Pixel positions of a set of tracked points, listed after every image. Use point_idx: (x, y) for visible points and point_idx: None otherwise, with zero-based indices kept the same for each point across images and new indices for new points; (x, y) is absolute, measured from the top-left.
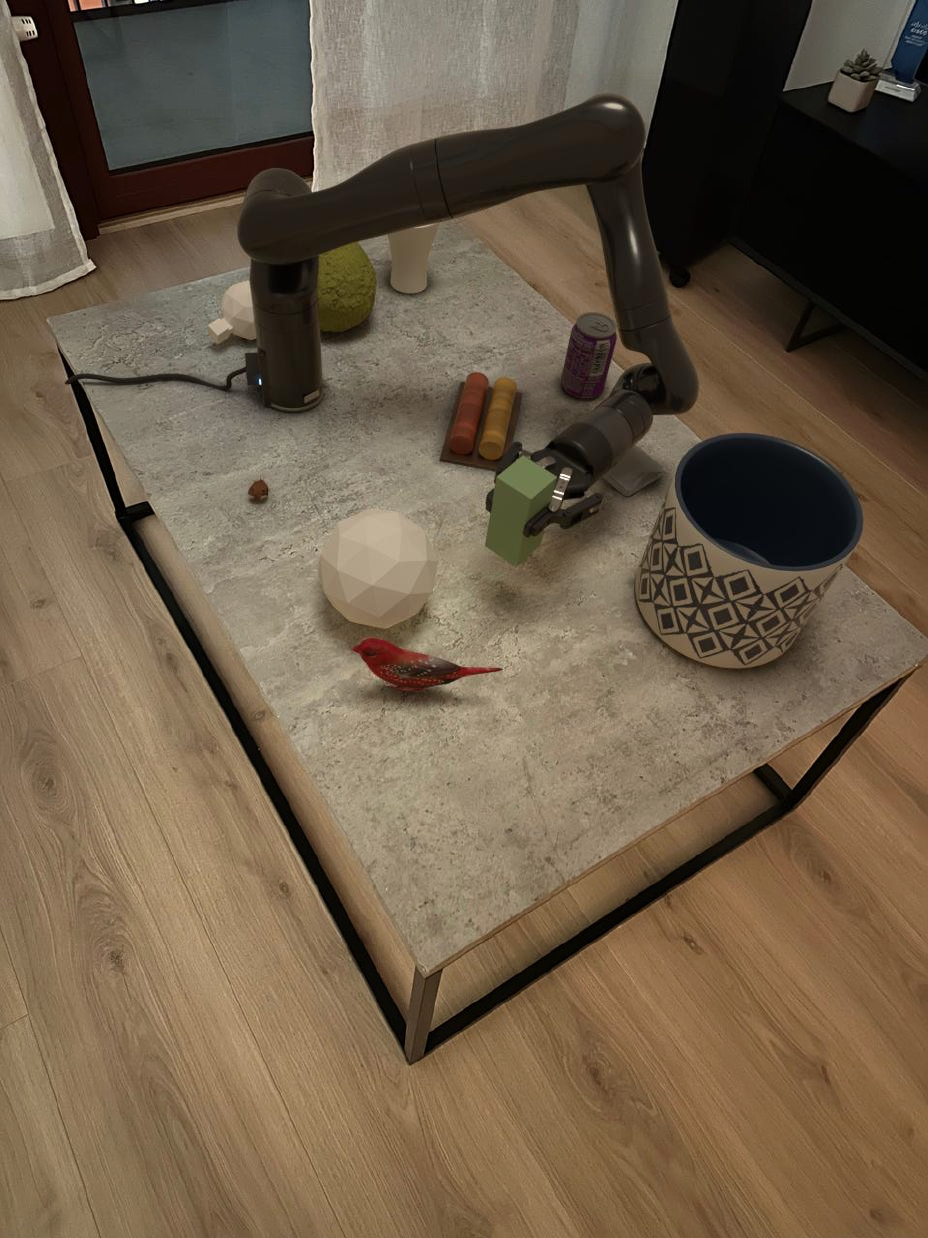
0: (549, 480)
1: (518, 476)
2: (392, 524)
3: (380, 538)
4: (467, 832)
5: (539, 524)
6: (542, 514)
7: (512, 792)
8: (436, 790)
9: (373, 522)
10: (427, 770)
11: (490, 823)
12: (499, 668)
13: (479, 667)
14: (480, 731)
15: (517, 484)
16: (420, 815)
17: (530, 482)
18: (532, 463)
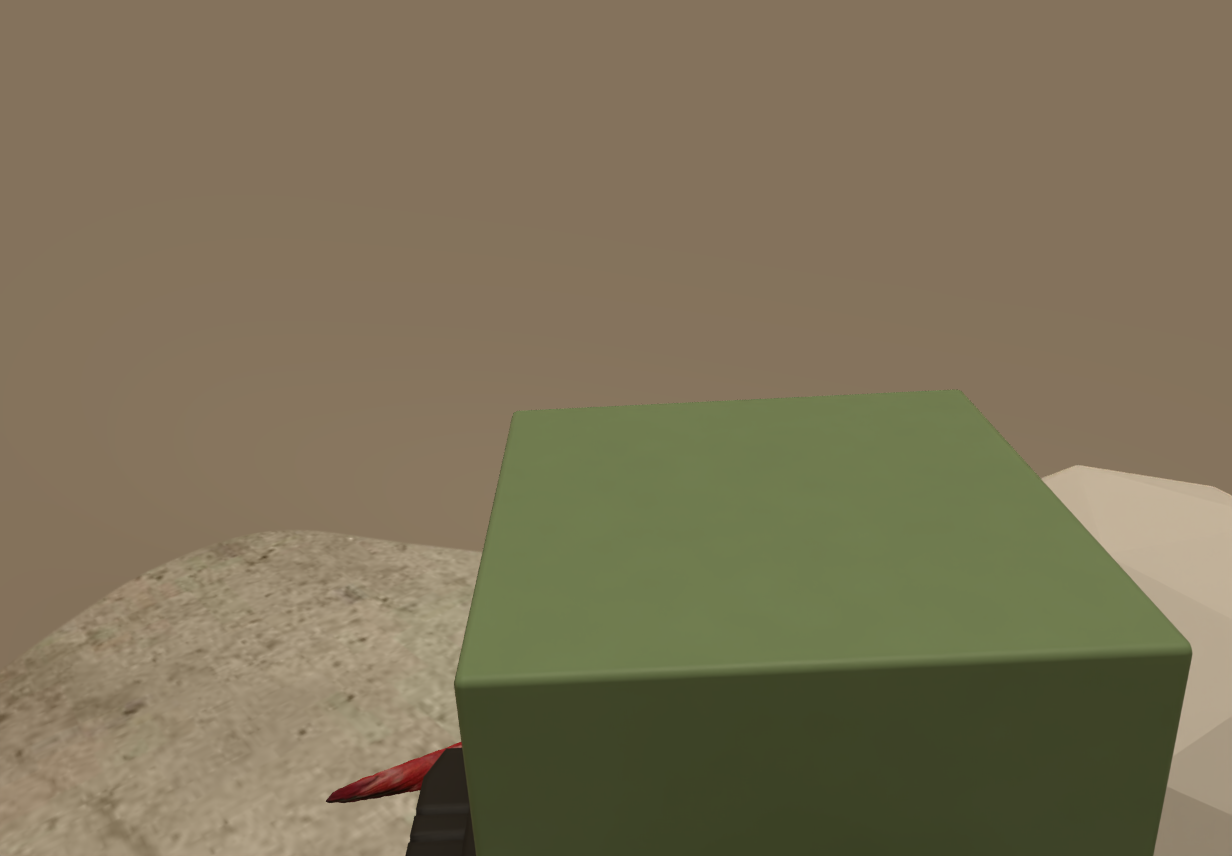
0: (507, 585)
1: (836, 466)
2: (1173, 556)
3: (1093, 497)
4: (241, 658)
5: (440, 794)
6: (471, 847)
7: (157, 774)
8: (369, 674)
9: (1220, 519)
10: (422, 689)
11: (190, 696)
12: (341, 789)
13: (422, 765)
14: (345, 840)
15: (746, 424)
16: (371, 628)
17: (672, 484)
18: (935, 626)
